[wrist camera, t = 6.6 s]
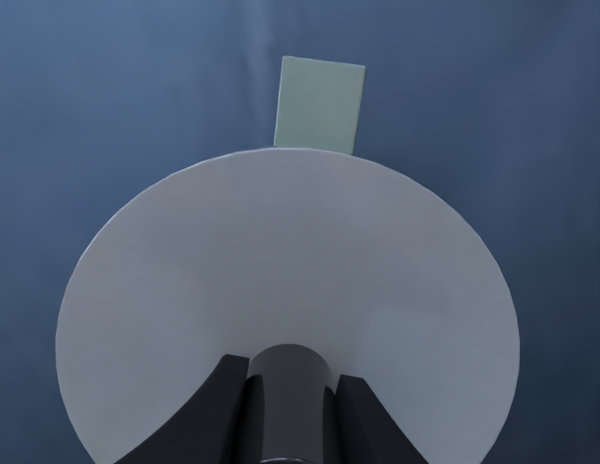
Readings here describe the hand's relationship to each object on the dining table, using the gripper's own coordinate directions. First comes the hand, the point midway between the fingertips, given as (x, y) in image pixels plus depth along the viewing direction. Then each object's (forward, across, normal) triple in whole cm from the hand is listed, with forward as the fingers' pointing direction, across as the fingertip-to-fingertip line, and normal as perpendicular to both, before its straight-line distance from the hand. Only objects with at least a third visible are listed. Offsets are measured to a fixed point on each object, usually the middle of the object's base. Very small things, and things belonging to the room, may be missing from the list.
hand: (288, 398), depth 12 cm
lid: (+1, 0, 0) cm, 1 cm away
